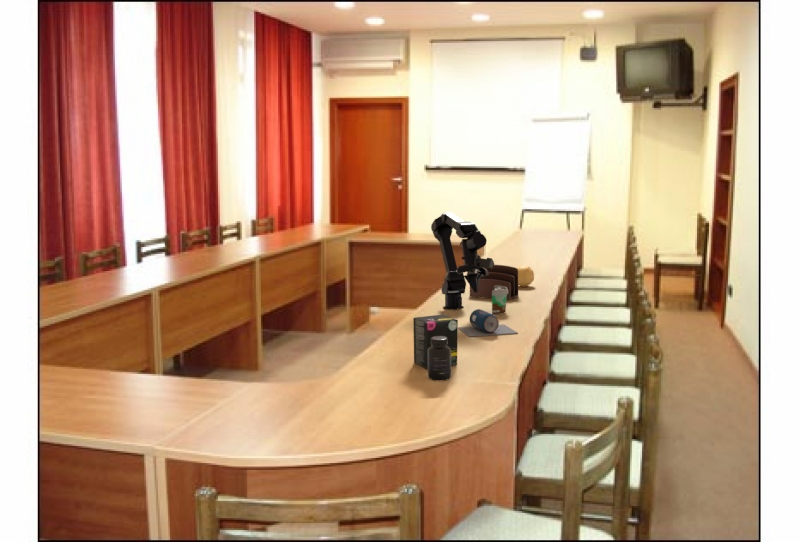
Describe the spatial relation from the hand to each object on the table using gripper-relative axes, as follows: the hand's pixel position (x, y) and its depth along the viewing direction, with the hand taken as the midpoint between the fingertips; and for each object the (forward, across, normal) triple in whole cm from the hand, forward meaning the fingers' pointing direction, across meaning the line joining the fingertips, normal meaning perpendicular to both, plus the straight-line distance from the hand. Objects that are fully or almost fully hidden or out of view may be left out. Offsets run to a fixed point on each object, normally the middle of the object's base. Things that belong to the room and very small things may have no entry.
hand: (476, 292), depth 299 cm
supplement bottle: (+34, -73, -12) cm, 81 cm away
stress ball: (-9, +76, +4) cm, 76 cm away
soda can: (+11, -13, -3) cm, 17 cm away
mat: (+17, -15, -8) cm, 24 cm away
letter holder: (-3, +47, +10) cm, 48 cm away
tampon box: (+29, -61, -6) cm, 68 cm away
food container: (+8, +18, -3) cm, 19 cm away
